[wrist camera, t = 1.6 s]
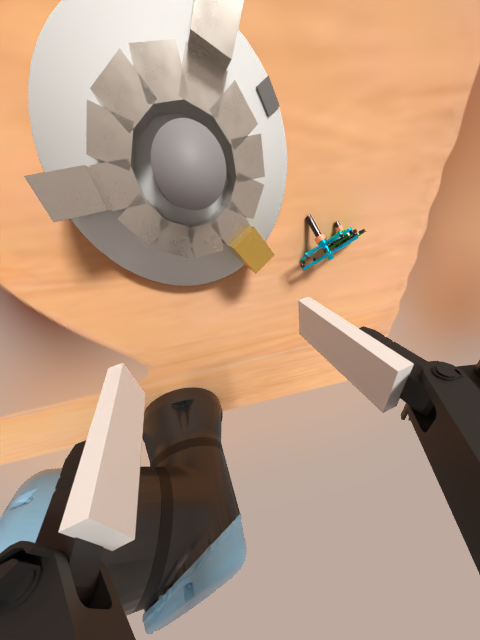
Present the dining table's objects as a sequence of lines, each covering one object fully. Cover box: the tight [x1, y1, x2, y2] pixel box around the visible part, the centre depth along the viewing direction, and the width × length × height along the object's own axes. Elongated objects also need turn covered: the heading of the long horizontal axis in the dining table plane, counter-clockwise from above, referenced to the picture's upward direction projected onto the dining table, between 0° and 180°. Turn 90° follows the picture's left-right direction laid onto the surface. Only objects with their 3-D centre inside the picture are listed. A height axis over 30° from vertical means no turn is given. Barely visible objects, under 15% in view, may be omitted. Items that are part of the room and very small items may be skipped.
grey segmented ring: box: [24, 0, 274, 273], centre depth 20 cm, size 21×19×4 cm
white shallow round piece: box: [28, 0, 287, 286], centre depth 19 cm, size 24×24×7 cm
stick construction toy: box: [300, 215, 366, 270], centre depth 30 cm, size 12×7×8 cm
